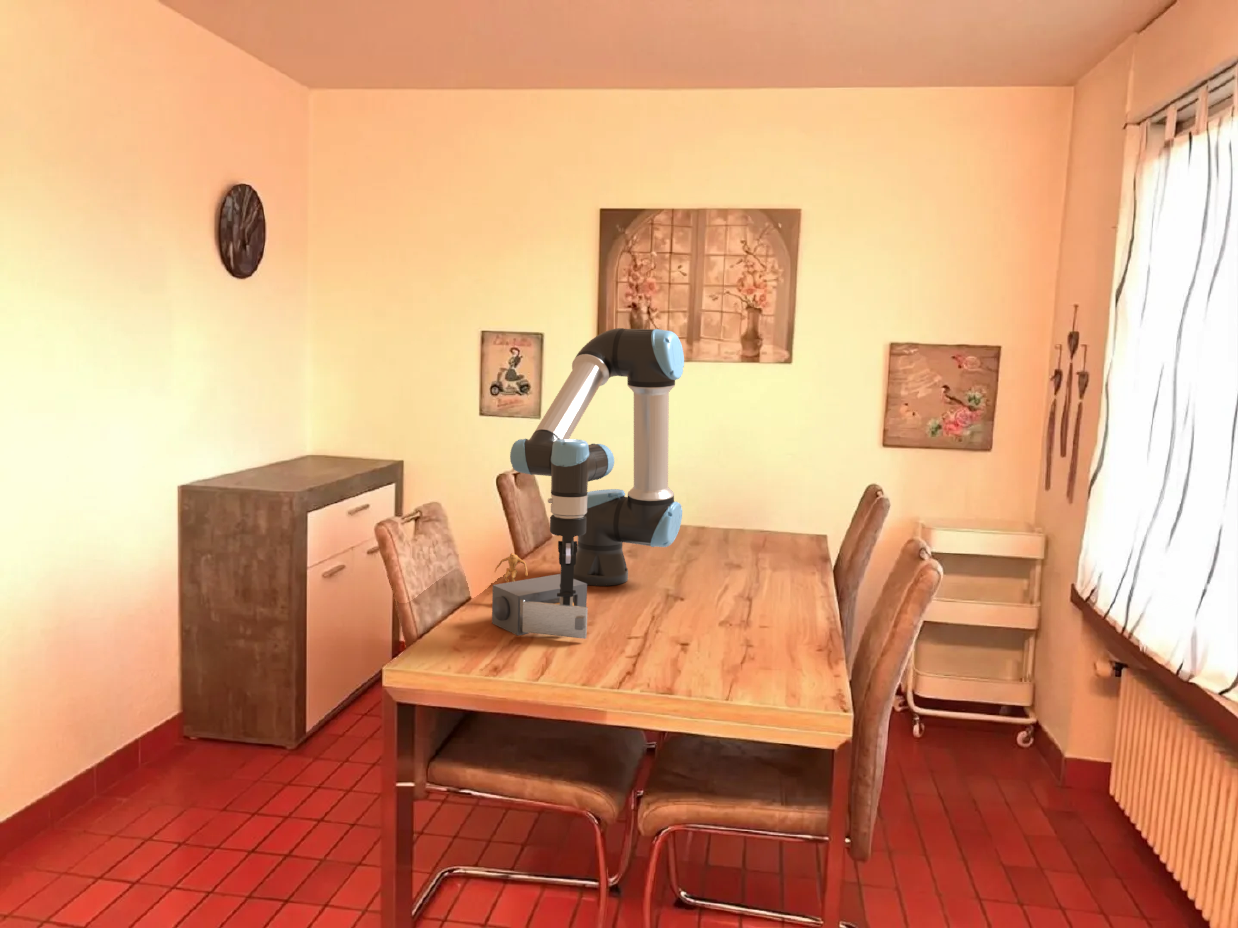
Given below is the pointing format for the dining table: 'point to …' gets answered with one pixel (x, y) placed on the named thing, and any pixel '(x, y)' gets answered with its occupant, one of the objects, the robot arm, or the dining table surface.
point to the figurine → (512, 566)
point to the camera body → (529, 598)
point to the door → (553, 619)
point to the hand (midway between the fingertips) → (565, 625)
